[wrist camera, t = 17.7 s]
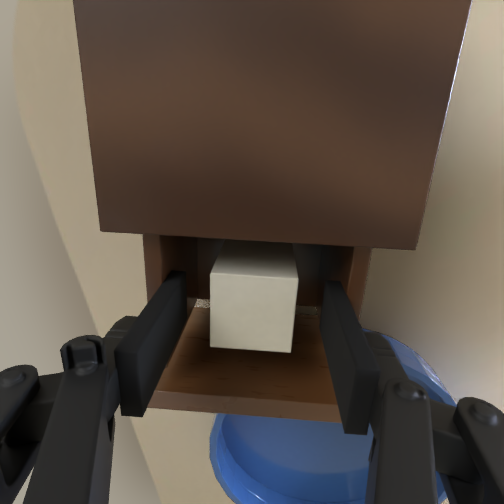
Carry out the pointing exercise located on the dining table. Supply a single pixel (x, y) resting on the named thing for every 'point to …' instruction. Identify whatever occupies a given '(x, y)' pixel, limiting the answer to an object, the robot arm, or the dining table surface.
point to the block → (253, 296)
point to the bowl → (304, 451)
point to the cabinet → (268, 115)
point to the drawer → (251, 361)
